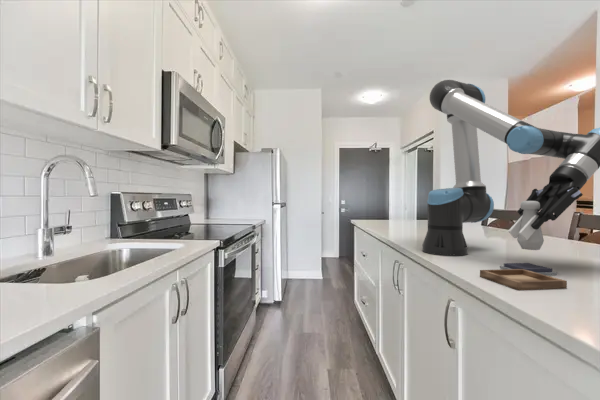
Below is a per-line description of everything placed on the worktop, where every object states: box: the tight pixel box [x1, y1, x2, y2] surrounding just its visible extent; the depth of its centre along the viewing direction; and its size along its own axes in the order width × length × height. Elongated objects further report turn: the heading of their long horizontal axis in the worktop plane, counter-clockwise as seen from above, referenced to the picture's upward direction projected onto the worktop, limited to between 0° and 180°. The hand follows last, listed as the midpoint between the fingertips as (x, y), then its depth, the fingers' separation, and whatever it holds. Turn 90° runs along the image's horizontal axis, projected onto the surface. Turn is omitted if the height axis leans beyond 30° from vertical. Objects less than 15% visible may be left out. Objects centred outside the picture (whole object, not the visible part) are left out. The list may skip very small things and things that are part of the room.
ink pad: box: [499, 262, 558, 276], centre depth 88 cm, size 9×9×2 cm
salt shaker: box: [516, 200, 545, 251], centre depth 88 cm, size 6×6×13 cm
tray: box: [479, 268, 568, 291], centre depth 77 cm, size 12×12×2 cm
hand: (517, 235), depth 87 cm, fingers closed on salt shaker, 3 cm apart
